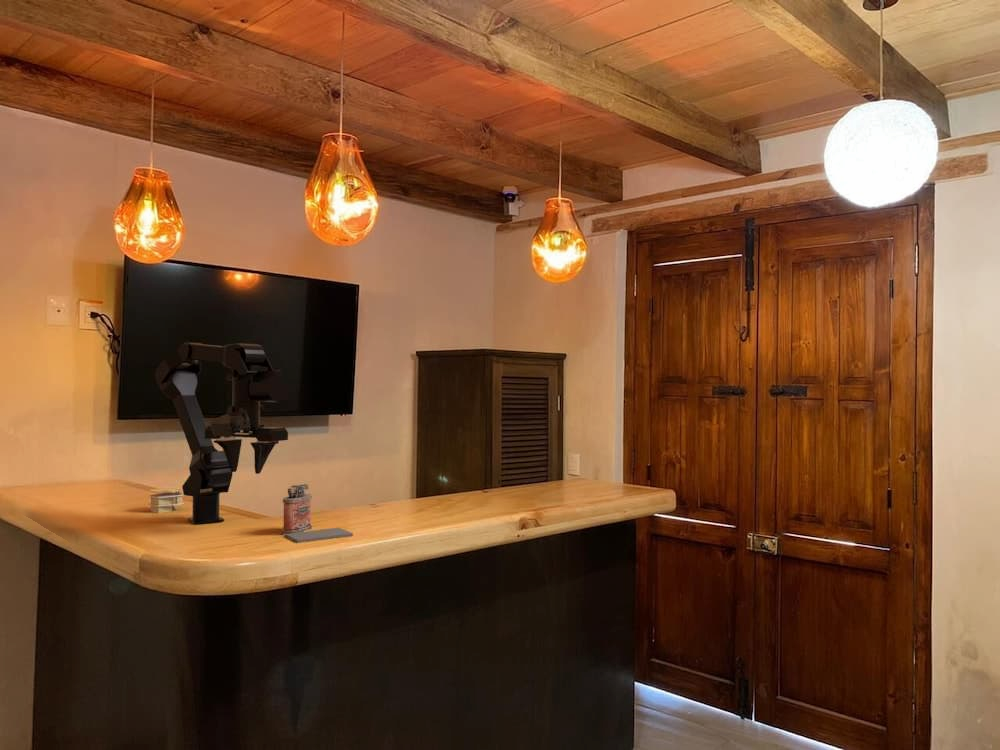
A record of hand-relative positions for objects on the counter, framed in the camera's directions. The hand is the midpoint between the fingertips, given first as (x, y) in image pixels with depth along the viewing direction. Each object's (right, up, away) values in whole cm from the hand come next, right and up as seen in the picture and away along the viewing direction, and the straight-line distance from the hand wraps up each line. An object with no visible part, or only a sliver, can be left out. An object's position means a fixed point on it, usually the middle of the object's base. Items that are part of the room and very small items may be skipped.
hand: (245, 472), depth 163 cm
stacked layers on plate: (-26, -12, +20) cm, 35 cm away
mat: (+18, -12, -7) cm, 23 cm away
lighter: (+12, -12, -3) cm, 18 cm away
